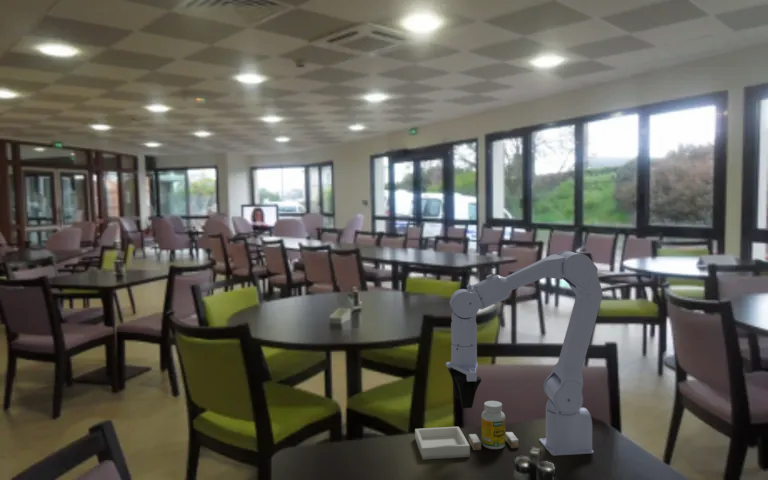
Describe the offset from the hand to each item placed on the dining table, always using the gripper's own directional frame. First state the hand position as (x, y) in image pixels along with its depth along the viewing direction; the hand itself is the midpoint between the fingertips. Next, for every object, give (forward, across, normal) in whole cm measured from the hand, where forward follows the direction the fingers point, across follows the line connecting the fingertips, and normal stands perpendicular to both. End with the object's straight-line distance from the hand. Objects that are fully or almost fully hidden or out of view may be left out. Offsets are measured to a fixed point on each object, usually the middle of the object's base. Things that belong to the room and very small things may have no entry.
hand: (464, 403), depth 122 cm
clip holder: (+10, 0, +7) cm, 12 cm away
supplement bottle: (+10, 0, +7) cm, 12 cm away
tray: (+10, 0, -5) cm, 11 cm away
